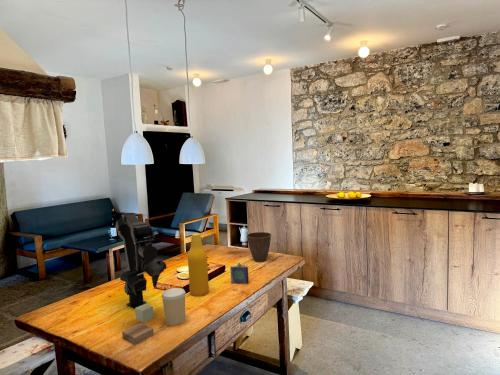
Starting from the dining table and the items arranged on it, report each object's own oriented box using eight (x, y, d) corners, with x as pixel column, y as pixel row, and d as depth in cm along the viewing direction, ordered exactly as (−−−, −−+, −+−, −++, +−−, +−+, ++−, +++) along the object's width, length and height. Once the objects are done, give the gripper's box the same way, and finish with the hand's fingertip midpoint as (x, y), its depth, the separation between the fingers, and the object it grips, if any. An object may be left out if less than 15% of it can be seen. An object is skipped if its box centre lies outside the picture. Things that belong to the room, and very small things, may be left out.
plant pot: (242, 261, 211) (241, 236, 209) (257, 255, 223) (256, 231, 221) (262, 265, 202) (261, 239, 200) (276, 258, 214) (275, 233, 212)
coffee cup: (177, 313, 147) (175, 285, 145) (191, 319, 141) (190, 290, 139) (158, 321, 139) (156, 293, 138) (173, 328, 134) (171, 299, 132)
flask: (230, 283, 177) (229, 263, 176) (231, 281, 180) (231, 261, 178) (248, 284, 175) (247, 263, 174) (249, 282, 178) (248, 262, 177)
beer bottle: (210, 294, 164) (207, 235, 161) (191, 297, 161) (187, 237, 158) (207, 287, 173) (203, 231, 170) (188, 290, 170) (184, 233, 167)
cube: (136, 319, 142) (135, 308, 142) (146, 314, 146) (145, 303, 146) (143, 322, 139) (142, 311, 139) (153, 317, 143) (152, 306, 143)
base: (122, 339, 128) (122, 331, 128) (141, 329, 135) (140, 322, 134) (135, 345, 123) (134, 337, 123) (153, 335, 130) (153, 328, 129)
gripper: (135, 264, 127) (138, 304, 129) (174, 251, 142) (176, 287, 144) (117, 259, 134) (121, 297, 136) (156, 247, 149) (159, 281, 151)
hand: (145, 290), depth 142 cm, fingers open, 9 cm apart
